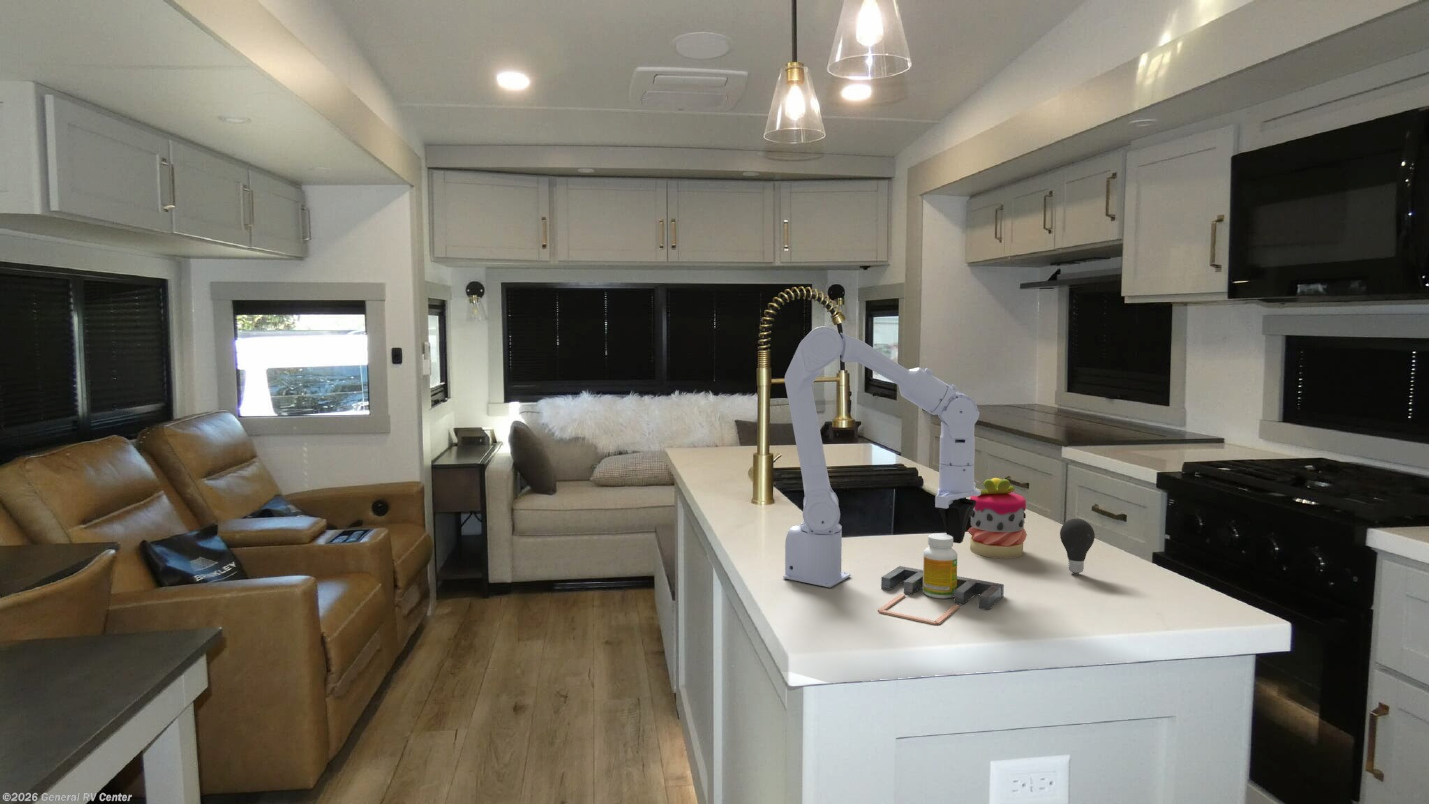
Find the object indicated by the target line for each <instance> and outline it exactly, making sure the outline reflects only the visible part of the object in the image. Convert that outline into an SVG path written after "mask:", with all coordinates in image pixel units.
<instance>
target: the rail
mask: <svg viewBox="0 0 1429 804" xmlns="http://www.w3.org/2000/svg"><path fill="white" fill-rule="evenodd" d="M880 580H881V581H880V583H881V585H880V586H881V589H882V590H887V591H890V590H893V589H894V588H895V587H897V586H898V585H899V584H902V583H903V594H905V595H906V594H907V595H911V596H912V595H914V594H915V593H917V592H919V591H920V590H921V589H923V569H918V568H913V567H908V566H903V565H902V566H901V565H899V566H897V567H896V568H893V570H891V571H889V572H887V573H885V575H883V576H881V578H880ZM1004 588H1005V585H1004V584H1002V583H996V582H994V581H993V582H992V581H987V580H980V579H976V578H972V577H969V578H968V577H964V576H959V575H957V589H956V590H955V591H954V597H953V598H954V599H953V603H954V604H955V605H961V606H962V605H963V606H964V605H965V604H966V603H967V602H969V601H970V600H971V599H972V598H973V597H975V596H976V595H978V596H979V598H978V599H979V603H978V604H979V605H978V607H979V609H982V610H986V611H987V610H988V611H989V610H991V609H992V608H993V606H995V605H996V604H998V602H999V601H1000V600H1001V599H1003V597H1004V594H1005V589H1004Z"/></svg>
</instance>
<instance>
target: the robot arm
mask: <svg viewBox="0 0 1429 804" xmlns="http://www.w3.org/2000/svg"><path fill="white" fill-rule="evenodd" d="M792 357H793V358H792V359H791V361H790V364H789V366H788V368H787V370H786V372H785V375H784V384H785V390H786V395H787V401H788V406H789V412H790V417H791V423H792V424H791V425H792V429H793V434H794V438H795V439H794V440H795V445H796V446H795V447H796V449H797V450H796V451H797V456H798V462H799V467H800V471H801V472H800V473H801V477H802V486H803V492H804V497H803V502H802V504H803V509H802V519H803V521H802V522H801V523H800V525H799V524H796V525H793V526H791V527H790V528H789V529H788V531H787V532H786V533H787V534H786V537H785V545H784V548H785V550H784V551H785V553H784V556H785V557H784V560H785V561H784V564H785V565H784V566H785V567H784V574H783V575H782V578H783V579H786V580H791V581H796V582H801V583H805V584H806V583H807V584H809V585H815V586H819V587H820V586H821V587H826V588H832V587H834V586H836V585H838V584H839V583H841V582H843V581H845V580H846V579H848V578H850V577H851V573H849V572H844V571H842V555H843V554H842V549H843V548H842V546H843V545H842V543H843V540H842V538H843V537H842V535H843V533H842V532H843V530H842V529H843V528H842V527H843V526H842V525H841V524H840V519H841V511H840V507H839V503H840V502H839V498H838V496H837V494H836V492H834V490H833V489H832V487H831V483H830V477H829V473H828V468H827V462H826V457H825V452H824V445H823V440H822V435H821V434H822V433H821V428H820V423H819V417H818V413H817V412H818V411H817V408H816V401H815V395H814V388H813V383H814V382H815V380H816V379H817V378H818V377H819V375H821V373H822V371H823V370H824V369H825V368H826V367H828V366H830V365H832V363H834V362H835V361H836V360H838V359H839V357H840V361H841V362H842V363H858V364H860V365H861V366H864V367H865V368H868V369H869V370H871V371H873V372H874V373H876V374H878V375H879V376H882V377H883V378H885V379H887V380H889V381H890V382H893V383H894V384H896V385H897V386H898V389H899V394H900V396H901V397H902V398H904V399H905V400H907V401H909V402H910V403H913V405H916V406H917V407H918V408H920V409H923V411H925V412H926V413H929V414H930V415H932V416H936V415H938V416H937V417H938V418H939V419H940V421H941V422H940V436H939V462H938V463H939V466H938V468H939V471H938V472H939V473H938V474H939V475H938V476H939V478H938V487H937V494H936V495H935V497H934V503H935V504H934V505H935V506H934V507H935V508H936V509H937V510H938V511H939V514H940V516H941V518H942V521H943V524H944V528H945V534H947V535H950V536H952V537H953V544H961V543H963V542H964V538H965V535H966V531H967V527H968V522H969V519H970V514H971V512H972V510H973V508H974V507H975V505H976V501H975V500H972V499H970V498H969V497H971V496H979V495H981V491H980V490H981V489H977V488H976V487H977V482H975V458H976V457H975V455H976V454H975V453H976V451H975V450H976V445H975V444H976V437H975V431H976V429H975V425H976V423H977V422H978V420H979V419H980V414H981V413H980V411H979V408H978V405H977V404H976V401H975V400H974V399H973V398H971V396H969V395H967V394H965V393H963V391H961V390H960V391H959V390H958V389H959V388H958V386H957V385H955V384H951V385H950V384H948V383H946V382H944V381H943V380H942V379H940V378H938V377H936V376H934V375H933V374H934V371H933V370H932V369H930V368H928V367H926V368H924V369H923V368H921V367H914V368H910V369H908V368H906V367H905V366H902V365H900V364H899V363H897V362H896V361H894V360H893V359H892V358H890V357H888V356H886V355H885V354H883V353H882V352H880V351H878V350H877V349H876V348H874V347H873V346H872V345H869V344H868V343H866V342H865V341H863V340H860V339H858V338H856V337H853V336H851V335H848V334H845V333H843V332H840V333H839V332H838V331H837V329H834V328H832V327H830V326H823V325H821V326H817V327H815V328H813V329H812V330H811V331H809V332H808V334H807V335H805V336H804V338H803V339H801V340H800V343H799V344H798V347H797V348H796V350H795V352H794V354H793V356H792Z"/></svg>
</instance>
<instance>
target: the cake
mask: <svg viewBox="0 0 1429 804" xmlns="http://www.w3.org/2000/svg"><path fill="white" fill-rule="evenodd" d="M983 486H984V488H985V489H979V490H980V491H981V495H979V496H970V498H969V499H972V500H975V501H976V505H975V507H974V508H973V510H972V512H971V514H970V517H969V519H970V526H971V527H969V529H968V530H967V532H968V534H969V535H971V536H970V543H969V544H970V545H969V548H970V549H969V550H970V552H971V553H973V554H975V555H979V556H982V557H987V558H991V559H992V558H994V559H1014V558H1020V557H1021V556H1023V555H1024V542H1025V541H1026V538H1027V536H1028V534H1027V531H1026V530H1025V523H1026V522H1025V519H1026V517H1027V514H1026V512H1025V511H1026V508H1027V507H1026V506H1027V504H1026V503H1027V502H1026V499H1025V497H1023V495H1020V494H1017V493H1014V491H1015V487H1014V486H1013V485H1011V482H1010V481H1009V480H1008V479H1006V478H1004V479H1001V478H998V477H993V478H990V479H985V481H983Z"/></svg>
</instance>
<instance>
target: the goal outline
mask: <svg viewBox="0 0 1429 804" xmlns="http://www.w3.org/2000/svg"><path fill="white" fill-rule="evenodd" d="M905 598H906V594H905V593H903V594H902V593H899V595H897V596H896V597H894V598H892V599H891V600H890V601H888V602H887V603H885V604H884V605H883V606H880V607H879V608H878V609H877V612H878V613H879V614H882V615H883V614H884V615H888V616H893V617H898V618H901V619H906V620H911V621H916V622H920V623H925V624H930V625H934V626H935V625H941V624H943V622H944V621H945V620H946V619H948V618H949V617H950V616H952V614H954V613H955V612H956V611H957V610H959V608H960V607H961V606H960V604H953V605H952V606H951V607H950V608H949V609H947V610H946V611H945V612H944V613H943V614H941V615H940V616H939V617H937V619H935V620H934V619H933V620H932V619H929V618H923V617H919V616H913V615H910V614H909V615H908V614H904V613H901V612H895V611H891V610H889V608H891V607H893V606H894V605H895V604H897V603H899V602H900V601H901V600H903V599H905Z"/></svg>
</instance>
